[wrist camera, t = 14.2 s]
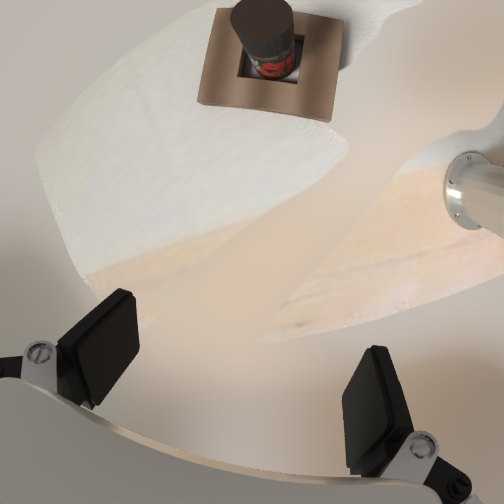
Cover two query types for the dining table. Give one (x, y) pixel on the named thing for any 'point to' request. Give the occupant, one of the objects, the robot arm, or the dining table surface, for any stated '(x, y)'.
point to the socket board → (273, 92)
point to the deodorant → (266, 35)
